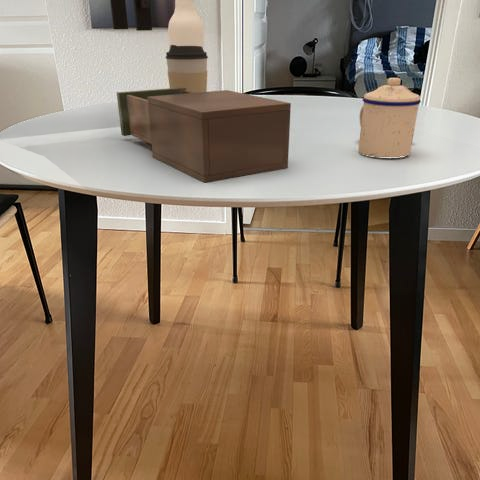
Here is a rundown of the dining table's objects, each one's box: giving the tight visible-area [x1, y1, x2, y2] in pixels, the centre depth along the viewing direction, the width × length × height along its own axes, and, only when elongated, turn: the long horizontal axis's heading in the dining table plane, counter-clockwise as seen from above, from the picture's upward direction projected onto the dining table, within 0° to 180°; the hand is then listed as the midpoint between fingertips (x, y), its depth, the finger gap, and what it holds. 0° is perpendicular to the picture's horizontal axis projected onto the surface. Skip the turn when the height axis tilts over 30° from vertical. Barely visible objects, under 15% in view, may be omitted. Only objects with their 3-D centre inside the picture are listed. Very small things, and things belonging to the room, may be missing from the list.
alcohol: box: [167, 0, 205, 51], centre depth 125 cm, size 9×9×30 cm
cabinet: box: [147, 89, 292, 183], centre depth 78 cm, size 18×15×9 cm
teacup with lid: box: [357, 77, 422, 157], centre depth 83 cm, size 12×9×12 cm
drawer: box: [116, 87, 195, 145], centre depth 89 cm, size 18×14×7 cm
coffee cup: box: [165, 45, 209, 93], centre depth 108 cm, size 9×9×15 cm
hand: (132, 29), depth 93 cm, fingers open, 11 cm apart
